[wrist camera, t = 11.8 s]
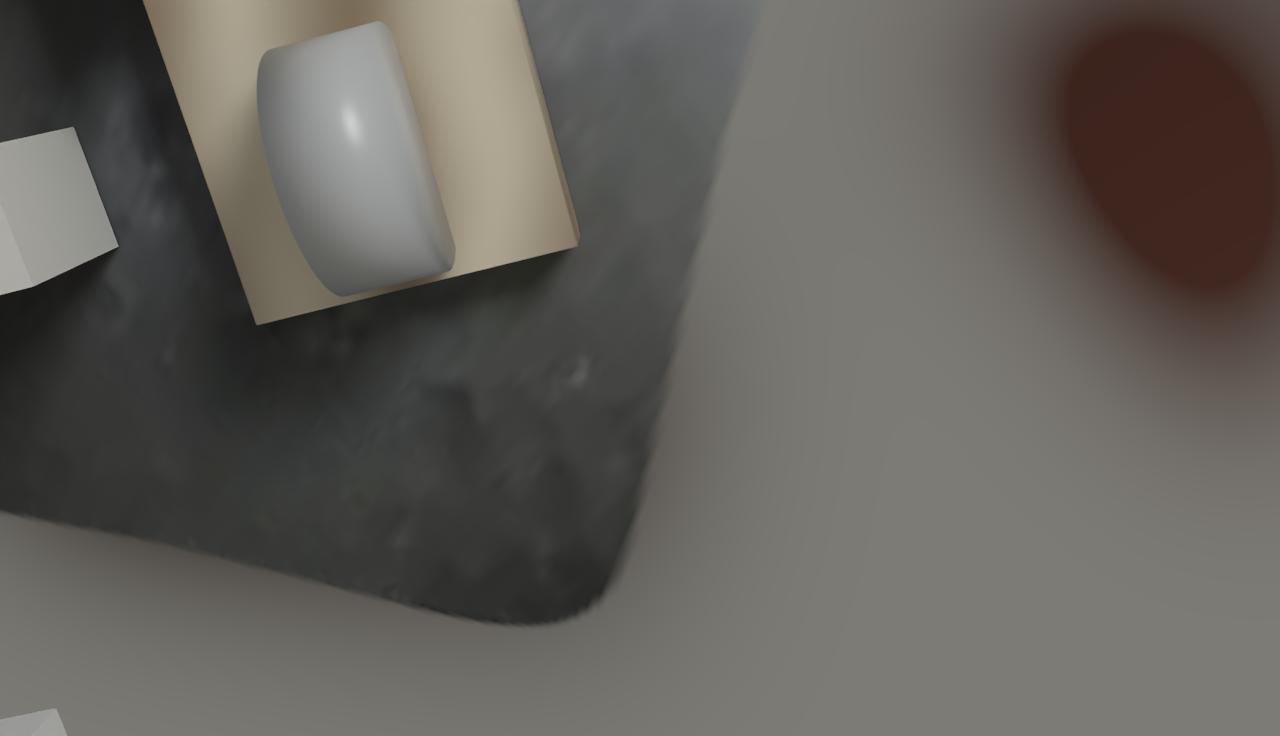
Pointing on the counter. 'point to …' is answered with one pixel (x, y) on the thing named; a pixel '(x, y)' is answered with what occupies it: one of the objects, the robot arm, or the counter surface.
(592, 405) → the counter surface
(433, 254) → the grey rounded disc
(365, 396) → the counter surface
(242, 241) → the lane
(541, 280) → the counter surface
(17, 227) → the tee
